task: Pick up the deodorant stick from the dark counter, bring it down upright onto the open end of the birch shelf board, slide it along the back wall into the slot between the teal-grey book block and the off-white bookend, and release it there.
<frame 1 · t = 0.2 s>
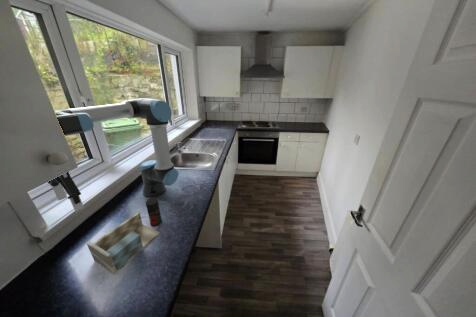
hand: (70, 203, 72), 28 cm above the countertop, fingers open, 13 cm apart
deodorant: (156, 222, 101), on the countertop
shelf: (129, 246, 86), on the countertop
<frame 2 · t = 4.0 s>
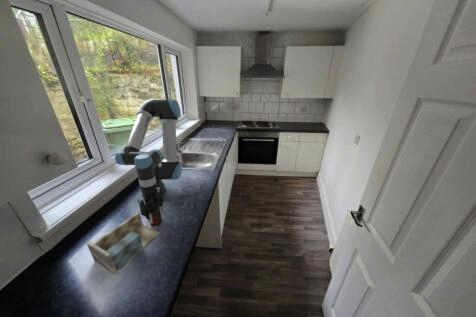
hand: (155, 218, 100), 3 cm above the countertop, fingers closed on deodorant, 6 cm apart
deodorant: (156, 222, 101), on the countertop, touching gripper
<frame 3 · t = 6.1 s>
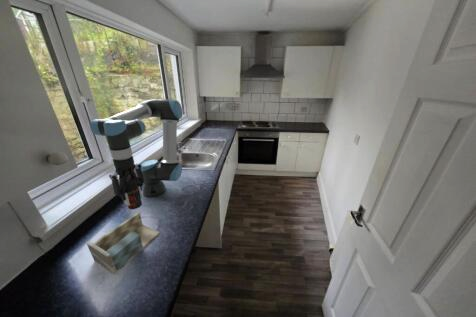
hand: (133, 200, 85), 21 cm above the countertop, fingers closed on deodorant, 6 cm apart
deodorant: (135, 205, 87), point 18 cm above the countertop, touching gripper
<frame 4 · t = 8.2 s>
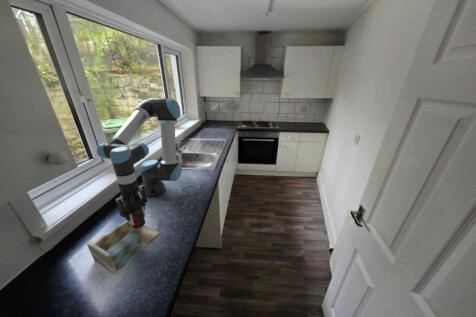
hand: (137, 219, 90), 9 cm above the countertop, fingers closed on deodorant, 6 cm apart
deodorant: (138, 224, 91), point 6 cm above the countertop, touching gripper
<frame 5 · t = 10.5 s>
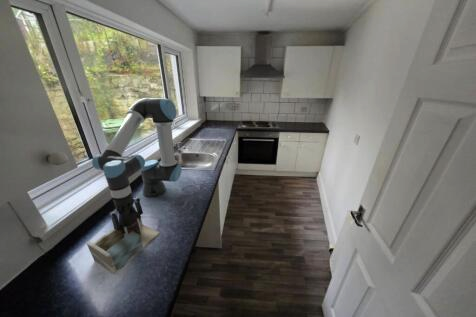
hand: (132, 232, 89), 4 cm above the countertop, fingers closed on deodorant, 6 cm apart
deodorant: (134, 236, 90), point 1 cm above the countertop, touching gripper
when the fingers open (4 cm above the countertop, at t = 12.5 s): deodorant stays where it is, resting on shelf.
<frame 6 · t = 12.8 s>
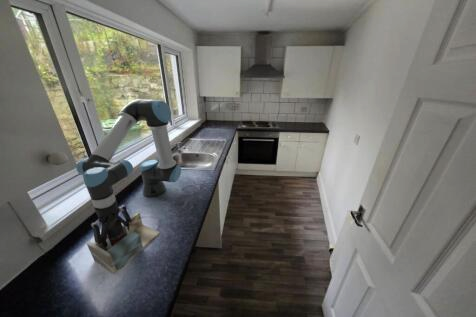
hand: (118, 242, 83), 5 cm above the countertop, fingers open, 8 cm apart
deodorant: (121, 248, 84), point 1 cm above the countertop, touching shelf
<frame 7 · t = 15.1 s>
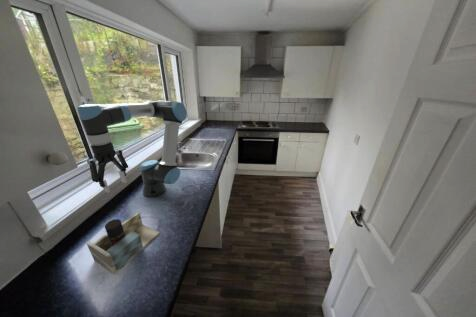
hand: (116, 186, 85), 27 cm above the countertop, fingers open, 8 cm apart
nothing on the countertop moved.
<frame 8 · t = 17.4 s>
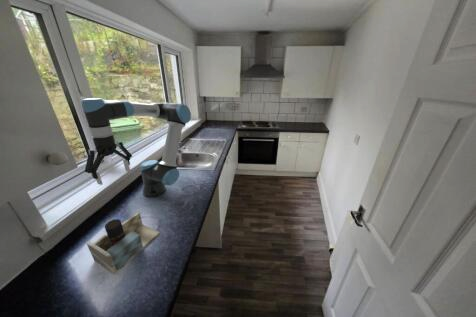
hand: (115, 177, 86), 31 cm above the countertop, fingers open, 13 cm apart
nothing on the countertop moved.
at the end: deodorant inside the target area (1.4 cm from its centre), point 0.8 cm above the countertop; deodorant tilted 0°; the gripper is holding nothing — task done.
